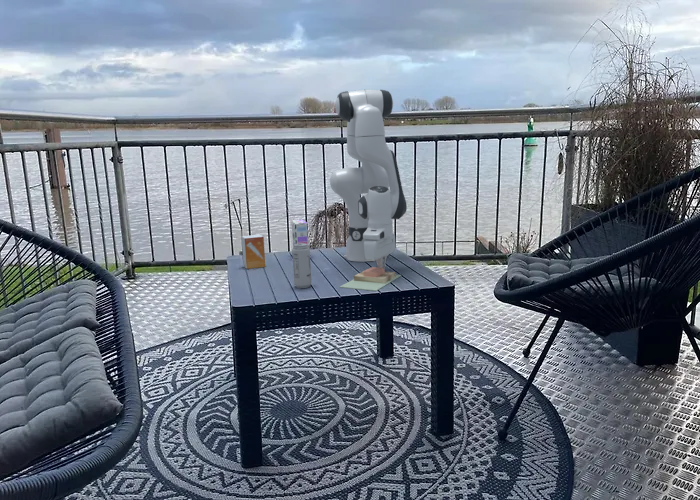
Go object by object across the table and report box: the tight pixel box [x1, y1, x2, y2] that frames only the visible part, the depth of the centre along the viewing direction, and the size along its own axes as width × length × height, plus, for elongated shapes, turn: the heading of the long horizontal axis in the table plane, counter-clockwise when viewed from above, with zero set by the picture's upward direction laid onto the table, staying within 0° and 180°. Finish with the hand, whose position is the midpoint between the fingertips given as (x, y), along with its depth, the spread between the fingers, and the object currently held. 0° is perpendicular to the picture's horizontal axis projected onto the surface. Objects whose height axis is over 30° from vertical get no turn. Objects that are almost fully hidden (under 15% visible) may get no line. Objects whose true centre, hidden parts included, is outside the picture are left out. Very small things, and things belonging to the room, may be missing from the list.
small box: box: [241, 234, 266, 270], centre depth 216 cm, size 8×6×13 cm
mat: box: [339, 274, 402, 292], centre depth 186 cm, size 22×14×1 cm, turn 152°
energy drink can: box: [291, 243, 312, 289], centre depth 181 cm, size 6×6×15 cm
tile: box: [363, 266, 385, 277], centre depth 187 cm, size 7×5×2 cm
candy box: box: [290, 219, 310, 248], centre depth 231 cm, size 14×6×16 cm, turn 12°
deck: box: [353, 270, 397, 283], centre depth 188 cm, size 10×12×2 cm
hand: (381, 268), depth 193 cm, fingers closed
